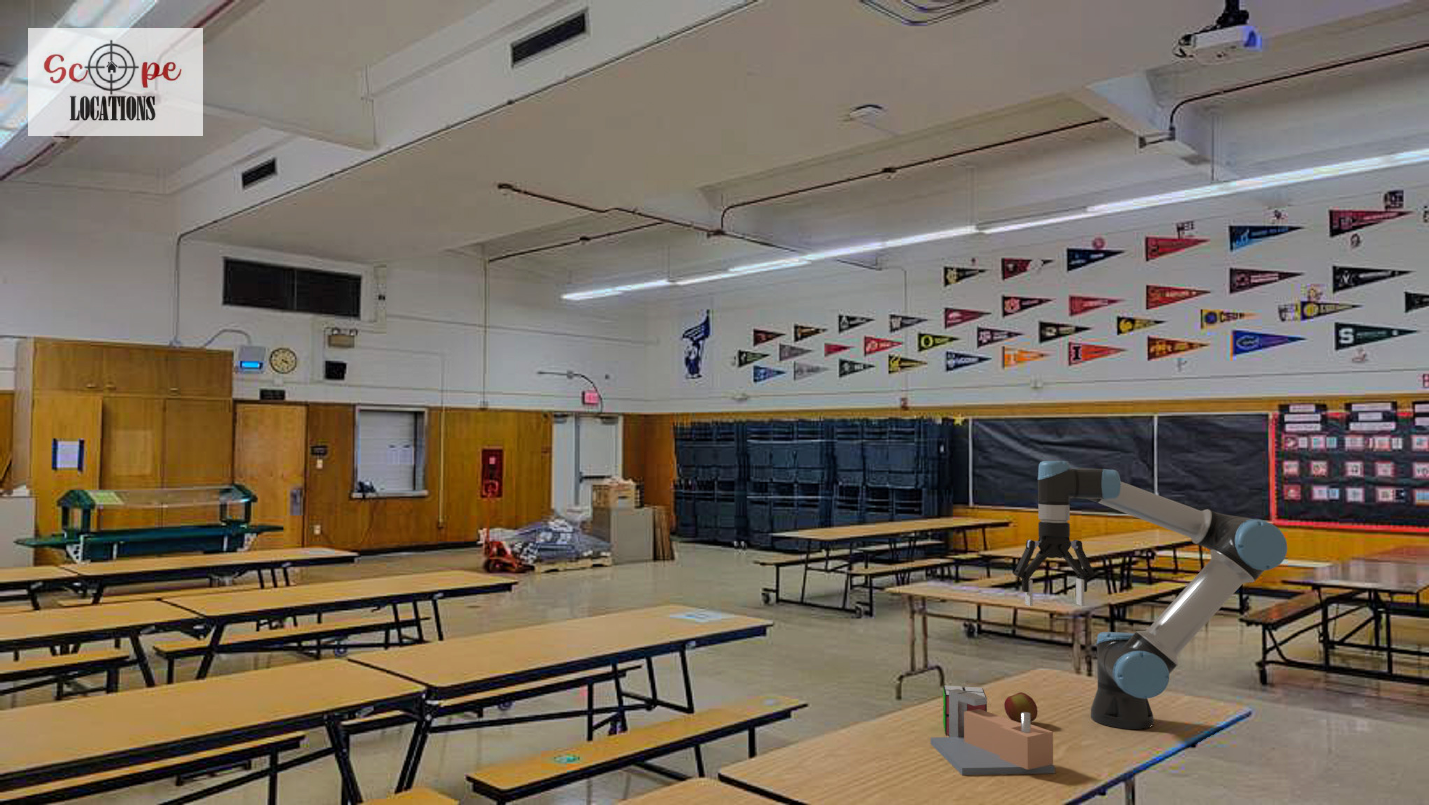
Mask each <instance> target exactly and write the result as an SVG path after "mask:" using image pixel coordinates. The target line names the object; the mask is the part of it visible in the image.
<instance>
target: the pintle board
mask: <svg viewBox="0 0 1429 805" xmlns="http://www.w3.org/2000/svg"><path fill="white" fill-rule="evenodd" d="M930 745H931V746H932V747H933V748H934V749H935V750H936V751H937V752H938V753H939V754H940V755H941V756H942V757H943V758H944V759H945V760H946V761H947V762H948V763H950V764H951V765H952V766H953V768H955V769H956V771H957V772H959V773H960V775H961V776H978V775H979V776H981V775H983V776H984V775H986V776H987V775H989V776H990V775H1032V774H1033V775H1034V774H1035V775H1037V774H1038V775H1039V774H1055V773H1056V766H1055V765H1054V763H1053V764H1051V765H1047V766H1042V767H1038V768H1033V769H1029V770H1027V769H1024V768H1022V767H1019V766H1017V765H1014V764H1012V763H1009V762H1007V761H1004V760H1002V759H1000V756H999V755H997V754H994V753H992V752H989V751H987V750H984V749H982V748H979V747H977V746H974V745H971V744H969V743H966V742H964V737H949V736H947V737H946V736H943V737H941V736H940V737H939V736H937V737H933V736H932V737H930Z"/></svg>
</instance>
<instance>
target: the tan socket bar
mask: <svg viewBox="0 0 1429 805" xmlns="http://www.w3.org/2000/svg"><path fill="white" fill-rule="evenodd" d="M964 742H966V743H969V744H971V745H974V746H977V747H979V748H982V749H984V750H987V751H989V752H992V753H994V754H997V755H999V756H1000V759H1002V760H1004V761H1007V762H1009V763H1012V764H1014V765H1017V766H1019V767H1022V768H1024V769H1027V770H1029V769H1033V768H1038V767H1042V766H1047V765H1051V764H1053V765H1054V731H1051V730H1048V729H1045V728H1043V727H1040V726H1037V725H1034V724H1031V733H1028V734H1026V733H1023V732H1021V723H1018V722H1016V721H1013V720H1011V719H1010V718H1007V717H1004V716H1001V715H998V714H995V713H993V712H992V713H991V712H989V711H988V710H987V711H984V710H981V709H977V710H971V711H965V712H964Z"/></svg>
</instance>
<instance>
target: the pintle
mask: <svg viewBox="0 0 1429 805" xmlns="http://www.w3.org/2000/svg"><path fill="white" fill-rule="evenodd" d="M1031 723H1032V721H1031V718H1030V713H1028V712H1021V732H1023V733H1026V734H1028V733H1031V725H1032V724H1031Z"/></svg>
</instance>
